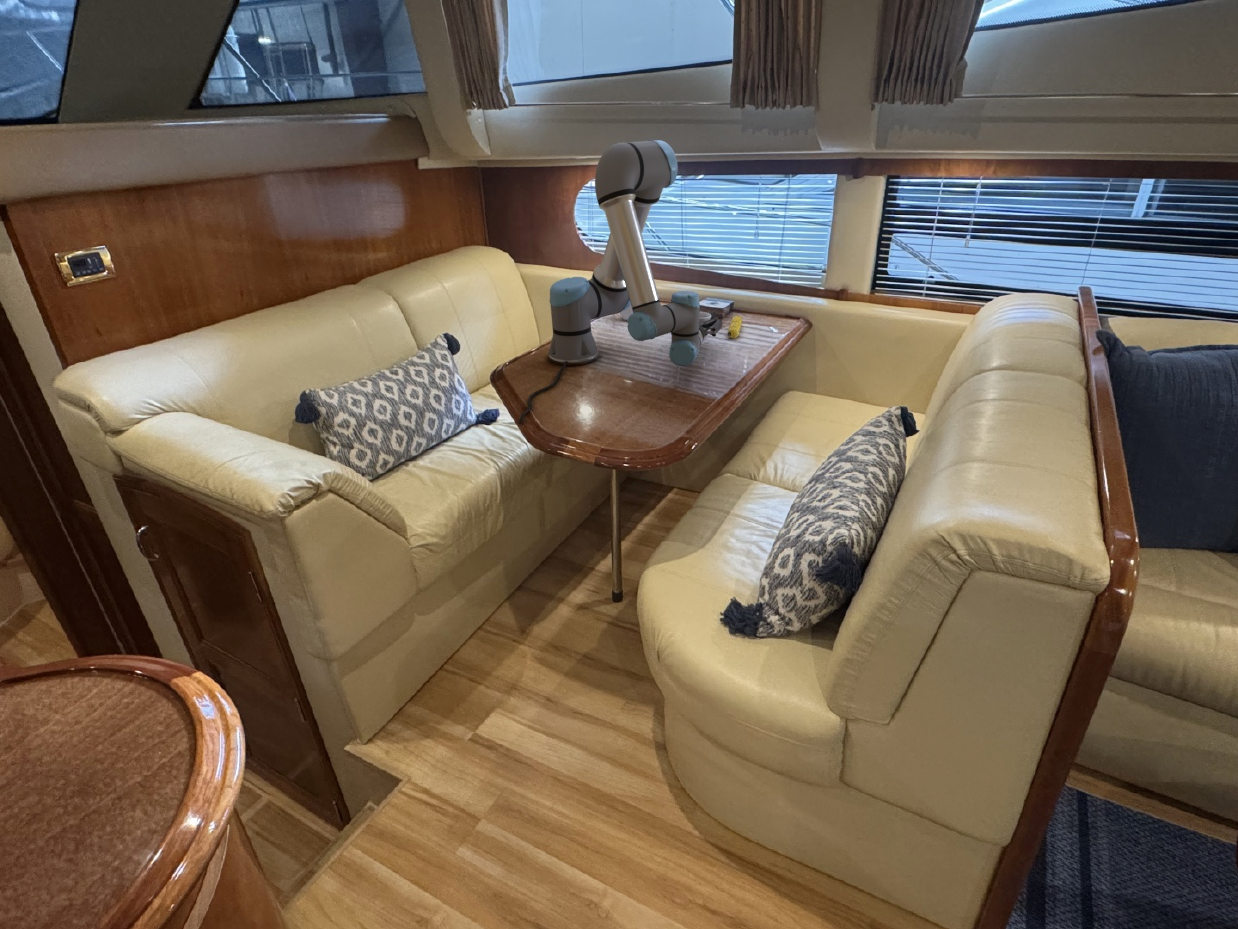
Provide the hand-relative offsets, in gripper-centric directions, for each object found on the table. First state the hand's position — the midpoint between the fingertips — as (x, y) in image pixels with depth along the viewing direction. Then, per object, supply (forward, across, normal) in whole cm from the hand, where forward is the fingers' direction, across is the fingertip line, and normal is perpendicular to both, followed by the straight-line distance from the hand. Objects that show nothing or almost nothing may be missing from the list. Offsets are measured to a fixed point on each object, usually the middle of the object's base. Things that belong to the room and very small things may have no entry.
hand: (700, 315), depth 212 cm
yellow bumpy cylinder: (+9, +11, -8) cm, 16 cm away
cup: (-5, 0, -6) cm, 8 cm away
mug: (+20, -28, -8) cm, 36 cm away
